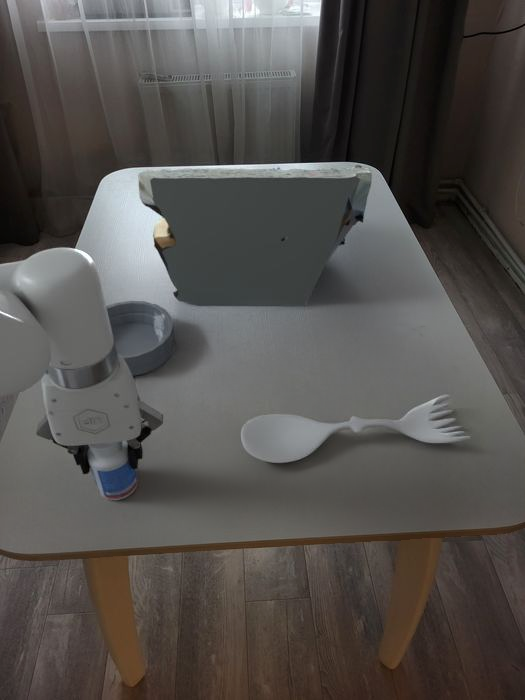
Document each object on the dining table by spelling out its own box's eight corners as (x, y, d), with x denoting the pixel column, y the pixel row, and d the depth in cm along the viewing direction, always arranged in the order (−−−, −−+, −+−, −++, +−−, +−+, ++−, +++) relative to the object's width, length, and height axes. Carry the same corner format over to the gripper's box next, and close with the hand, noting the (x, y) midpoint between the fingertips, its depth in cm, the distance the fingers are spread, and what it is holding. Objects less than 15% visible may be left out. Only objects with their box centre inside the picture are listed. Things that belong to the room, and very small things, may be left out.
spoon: (467, 452, 79) (473, 437, 77) (244, 473, 77) (243, 457, 74) (445, 406, 86) (450, 391, 84) (238, 424, 83) (238, 408, 81)
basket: (345, 227, 128) (351, 102, 110) (371, 308, 104) (383, 165, 86) (172, 240, 128) (150, 117, 110) (159, 323, 105) (127, 184, 87)
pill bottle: (146, 479, 76) (136, 432, 70) (119, 508, 72) (105, 461, 66) (117, 462, 78) (104, 415, 72) (89, 489, 75) (72, 442, 68)
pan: (102, 391, 89) (96, 371, 86) (72, 338, 99) (66, 318, 96) (190, 357, 95) (188, 337, 92) (154, 311, 105) (151, 291, 102)
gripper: (-9, 389, 57) (38, 494, 69) (160, 375, 58) (178, 480, 70) (8, 343, 62) (49, 446, 74) (161, 331, 64) (177, 434, 76)
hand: (111, 461), depth 72 cm, fingers closed on pill bottle, 5 cm apart
